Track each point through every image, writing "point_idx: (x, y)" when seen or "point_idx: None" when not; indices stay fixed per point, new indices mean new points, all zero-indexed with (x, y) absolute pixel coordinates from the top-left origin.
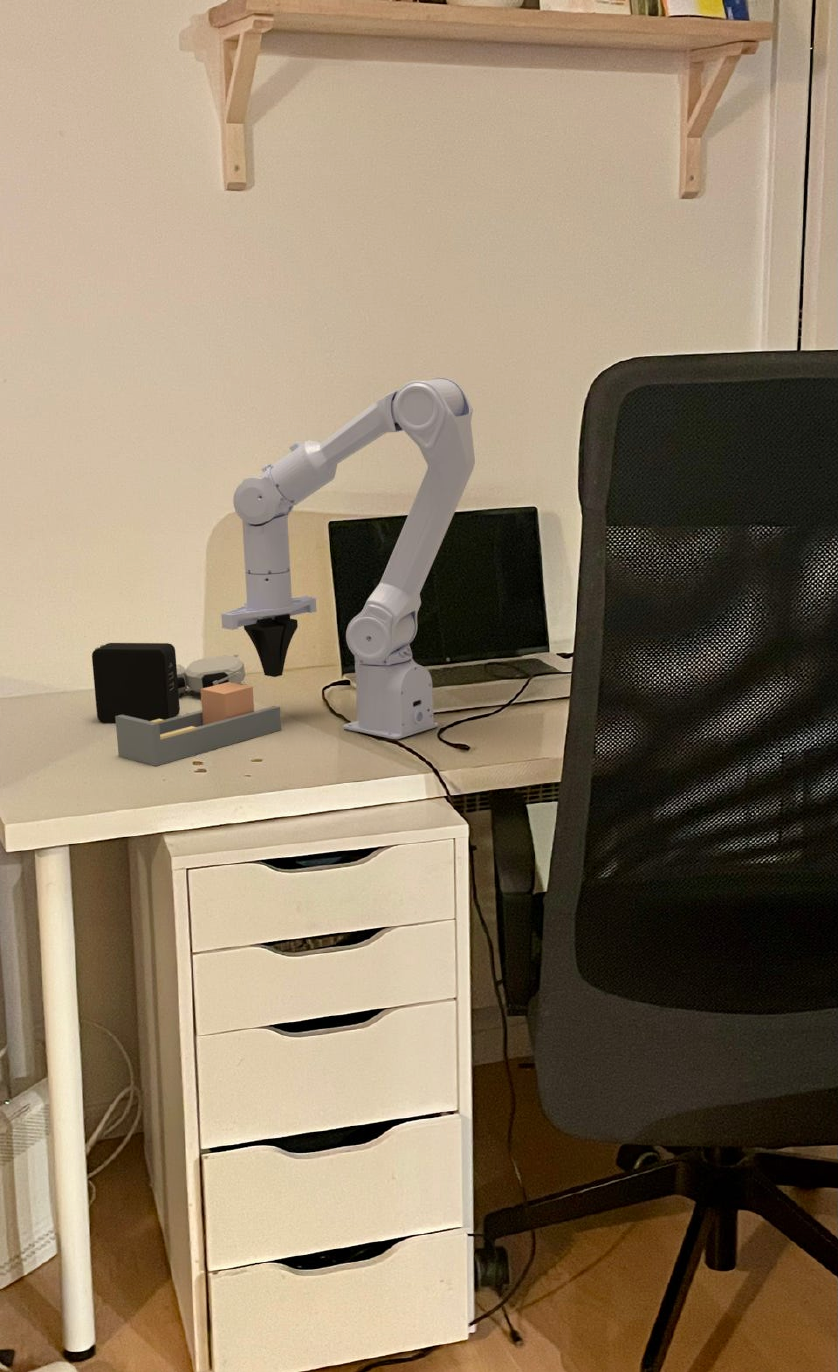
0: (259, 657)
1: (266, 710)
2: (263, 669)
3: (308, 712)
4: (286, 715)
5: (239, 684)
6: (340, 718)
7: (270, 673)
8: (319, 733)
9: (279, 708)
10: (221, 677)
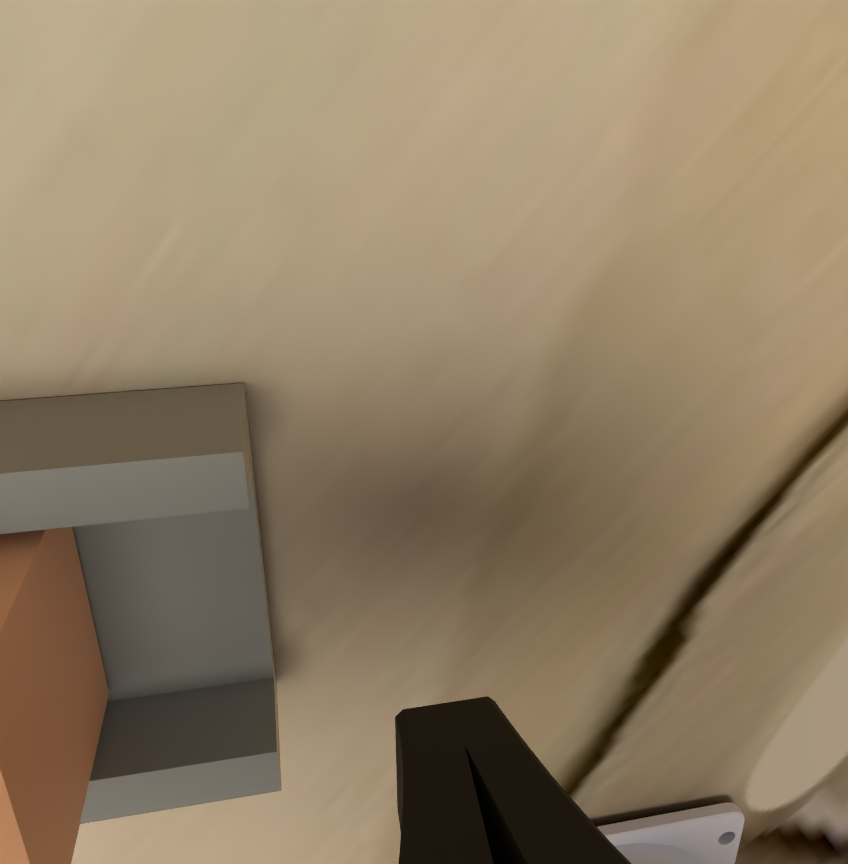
0: (401, 852)
1: (160, 807)
2: (403, 750)
3: (638, 496)
4: (521, 457)
5: (8, 823)
6: (622, 694)
7: (400, 802)
8: (361, 829)
9: (276, 783)
10: None
